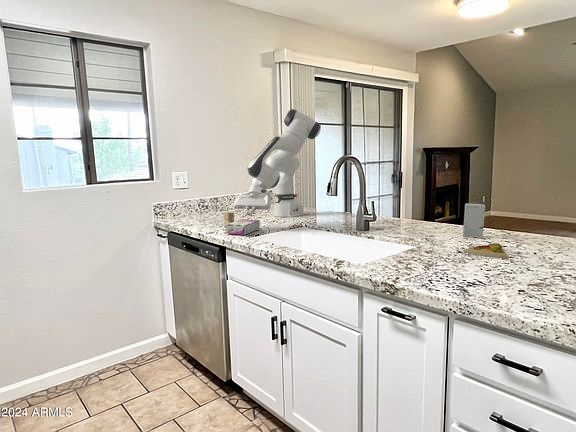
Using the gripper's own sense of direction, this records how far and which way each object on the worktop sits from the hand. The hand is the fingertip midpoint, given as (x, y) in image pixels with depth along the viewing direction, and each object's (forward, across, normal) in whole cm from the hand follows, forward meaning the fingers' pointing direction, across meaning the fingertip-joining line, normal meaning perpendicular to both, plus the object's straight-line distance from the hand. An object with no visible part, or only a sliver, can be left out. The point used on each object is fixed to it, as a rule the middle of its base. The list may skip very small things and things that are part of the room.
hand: (248, 214), depth 203 cm
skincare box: (0, +108, +12) cm, 109 cm away
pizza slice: (+19, +112, -6) cm, 114 cm away
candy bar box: (+2, 0, +6) cm, 6 cm away
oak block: (+1, -16, +11) cm, 19 cm away
